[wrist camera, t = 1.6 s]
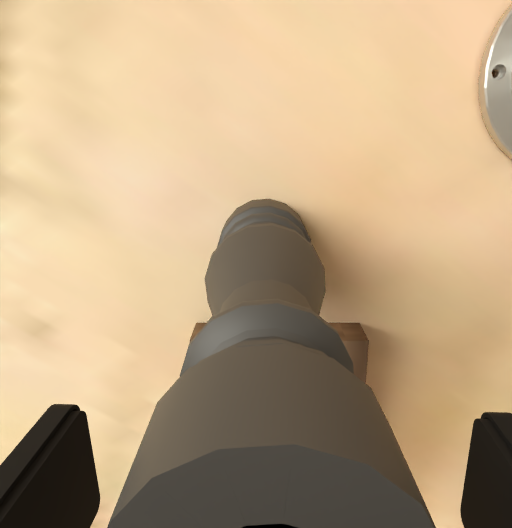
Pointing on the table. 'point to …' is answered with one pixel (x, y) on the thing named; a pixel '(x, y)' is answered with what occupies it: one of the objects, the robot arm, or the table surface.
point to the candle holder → (268, 405)
